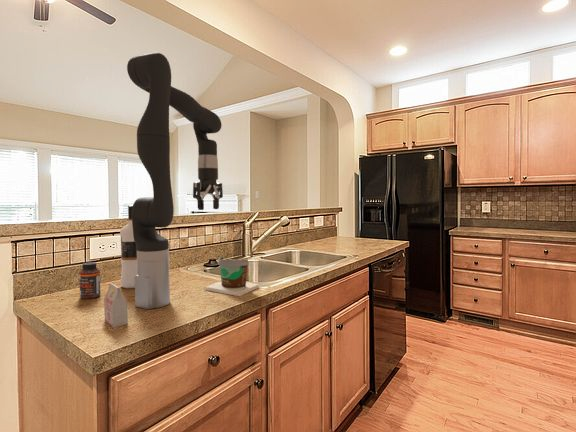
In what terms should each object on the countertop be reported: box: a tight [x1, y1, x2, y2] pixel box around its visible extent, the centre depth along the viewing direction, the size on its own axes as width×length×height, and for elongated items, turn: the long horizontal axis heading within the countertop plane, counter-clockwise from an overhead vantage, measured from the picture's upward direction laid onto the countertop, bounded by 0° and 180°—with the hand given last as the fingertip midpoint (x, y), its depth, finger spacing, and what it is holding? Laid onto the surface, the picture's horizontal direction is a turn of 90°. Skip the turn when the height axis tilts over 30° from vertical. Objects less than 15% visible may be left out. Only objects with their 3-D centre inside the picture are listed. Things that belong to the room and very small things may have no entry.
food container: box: [217, 255, 250, 288], centre depth 121 cm, size 12×6×10 cm, turn 61°
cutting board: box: [204, 281, 260, 297], centre depth 122 cm, size 12×15×1 cm
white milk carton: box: [103, 282, 129, 328], centre depth 91 cm, size 4×7×10 cm, turn 44°
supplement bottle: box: [78, 261, 101, 300], centre depth 113 cm, size 6×6×11 cm
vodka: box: [119, 204, 137, 289], centre depth 126 cm, size 9×9×30 cm
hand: (208, 209), depth 132 cm, fingers open, 8 cm apart
